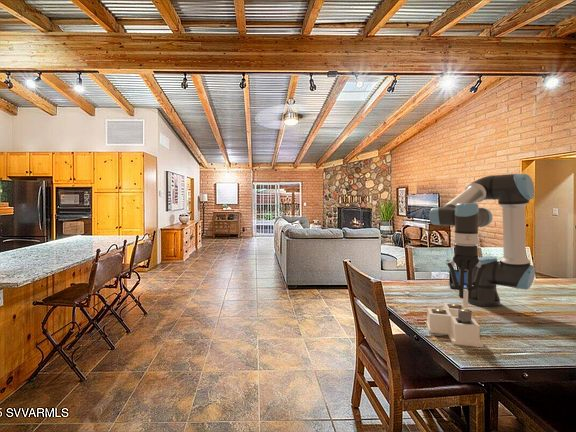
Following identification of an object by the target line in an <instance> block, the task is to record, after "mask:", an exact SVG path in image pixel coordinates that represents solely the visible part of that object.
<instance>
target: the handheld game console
mask: <svg viewBox="0 0 576 432" xmlns="http://www.w3.org/2000/svg"><path fill="white" fill-rule="evenodd" d="M454 271H455V275H456V279H457V283H458V285H459V269H454ZM448 273H449V275H448V277H449V279H448V280H449V281H448V283H449V288H450V289H452V290H459V289H458V288H455V287H454V285H453V281H452V277H451V273H450V270H449V272H448ZM466 284H467V270H465V271H464V289H467V288H466Z"/></svg>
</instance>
